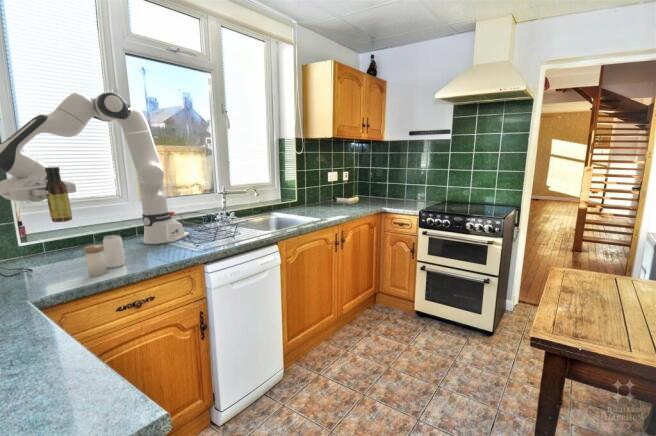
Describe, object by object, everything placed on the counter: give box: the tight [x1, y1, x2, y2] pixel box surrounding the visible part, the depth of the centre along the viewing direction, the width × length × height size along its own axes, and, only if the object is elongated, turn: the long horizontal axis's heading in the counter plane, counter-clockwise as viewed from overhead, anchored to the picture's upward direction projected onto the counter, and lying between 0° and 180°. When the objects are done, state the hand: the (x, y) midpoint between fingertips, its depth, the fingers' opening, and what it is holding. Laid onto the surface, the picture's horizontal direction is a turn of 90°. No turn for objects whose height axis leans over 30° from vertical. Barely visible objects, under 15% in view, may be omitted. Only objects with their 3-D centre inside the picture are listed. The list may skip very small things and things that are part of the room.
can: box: [102, 234, 126, 269], centre depth 135 cm, size 6×6×12 cm
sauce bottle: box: [45, 166, 73, 223], centre depth 124 cm, size 6×6×20 cm
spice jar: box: [83, 243, 108, 277], centre depth 126 cm, size 6×6×11 cm
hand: (57, 191), depth 124 cm, fingers closed on sauce bottle, 6 cm apart
